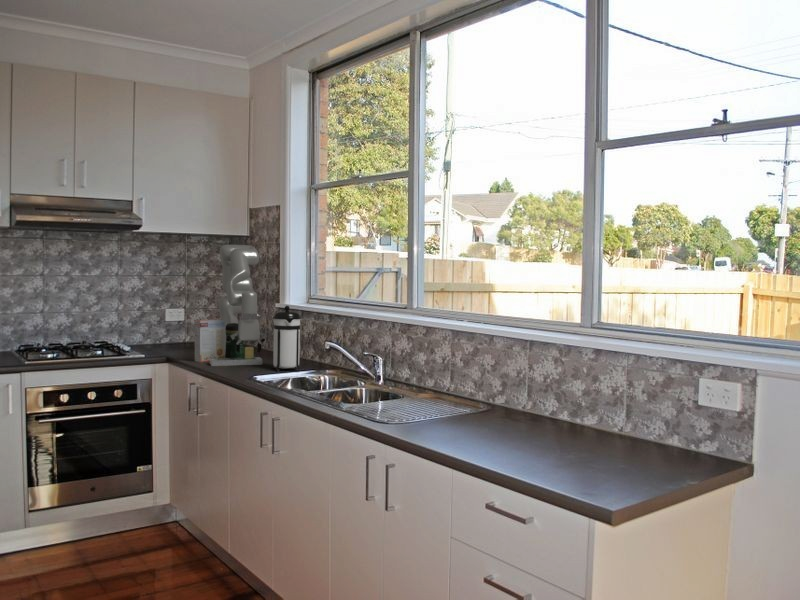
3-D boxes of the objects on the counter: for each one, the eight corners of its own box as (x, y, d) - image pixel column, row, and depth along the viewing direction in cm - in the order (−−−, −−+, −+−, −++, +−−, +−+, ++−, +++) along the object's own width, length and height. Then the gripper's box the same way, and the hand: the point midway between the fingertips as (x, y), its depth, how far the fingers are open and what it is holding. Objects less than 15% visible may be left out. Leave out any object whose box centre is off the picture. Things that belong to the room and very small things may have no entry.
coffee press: (310, 369, 341) (311, 305, 340) (288, 373, 327) (289, 307, 326) (281, 365, 350) (282, 304, 349) (259, 369, 336) (260, 305, 335)
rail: (209, 364, 349) (209, 358, 349) (259, 363, 357) (259, 356, 357) (211, 366, 342) (211, 360, 341) (262, 365, 350) (262, 358, 350)
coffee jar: (246, 359, 369) (246, 323, 368) (232, 361, 364) (233, 324, 363) (236, 357, 376) (236, 322, 375) (222, 359, 370) (222, 322, 370)
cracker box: (218, 359, 367) (219, 318, 366) (225, 361, 363) (225, 319, 362) (193, 362, 357) (194, 319, 356) (199, 363, 353) (200, 320, 352)
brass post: (243, 363, 353) (243, 346, 352) (252, 362, 354) (252, 346, 354) (245, 364, 349) (245, 347, 349) (253, 364, 350) (253, 347, 350)
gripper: (265, 316, 357) (265, 351, 358) (230, 316, 351) (229, 351, 352) (268, 317, 350) (267, 352, 351) (232, 317, 344) (231, 353, 345)
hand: (248, 352), depth 351 cm, fingers open, 9 cm apart
